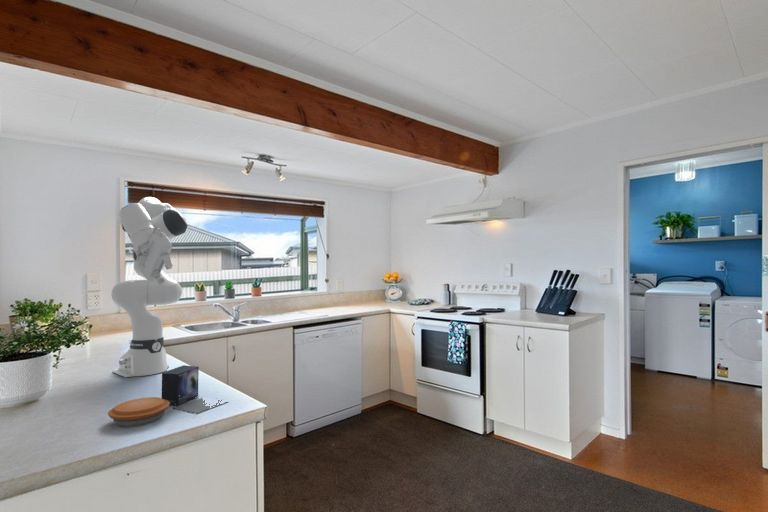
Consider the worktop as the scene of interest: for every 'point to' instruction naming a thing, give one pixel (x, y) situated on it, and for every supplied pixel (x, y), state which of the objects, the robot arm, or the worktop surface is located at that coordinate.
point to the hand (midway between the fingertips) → (166, 276)
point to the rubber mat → (194, 406)
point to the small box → (180, 384)
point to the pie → (138, 411)
